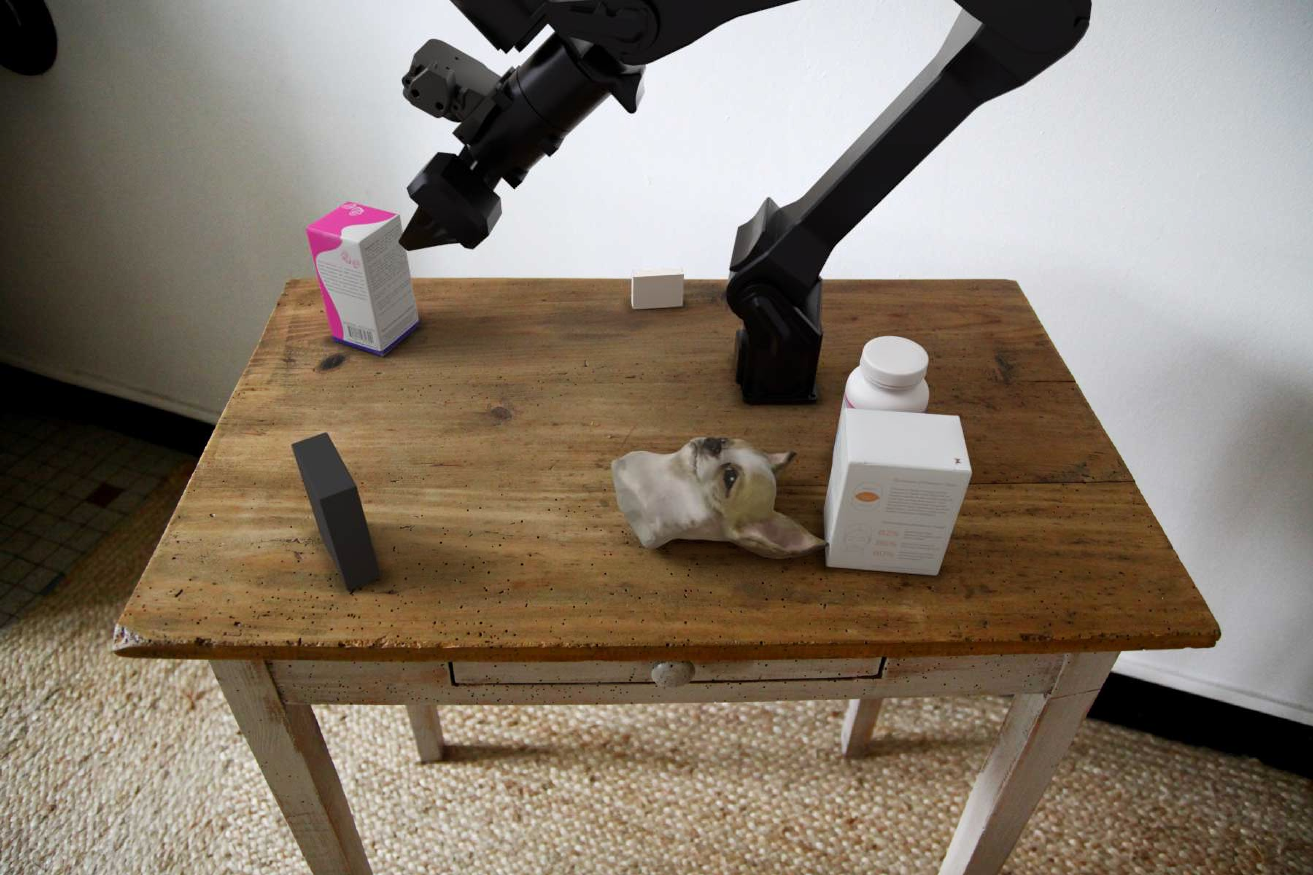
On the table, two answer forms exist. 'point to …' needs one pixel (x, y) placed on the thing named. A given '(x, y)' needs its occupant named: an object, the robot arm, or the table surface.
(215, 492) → the table surface
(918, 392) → the pill bottle
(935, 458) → the small box
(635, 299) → the eraser
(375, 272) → the supplement box
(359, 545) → the black rubber pad
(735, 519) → the ceramic sculpture
